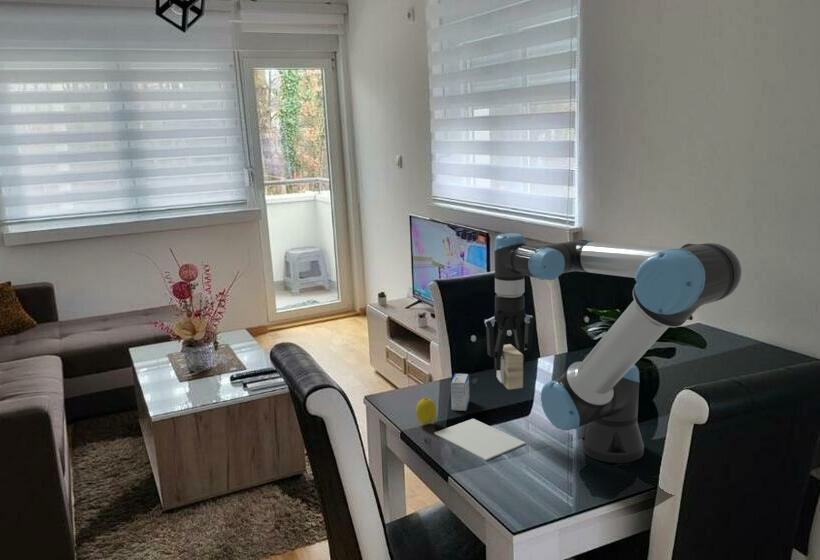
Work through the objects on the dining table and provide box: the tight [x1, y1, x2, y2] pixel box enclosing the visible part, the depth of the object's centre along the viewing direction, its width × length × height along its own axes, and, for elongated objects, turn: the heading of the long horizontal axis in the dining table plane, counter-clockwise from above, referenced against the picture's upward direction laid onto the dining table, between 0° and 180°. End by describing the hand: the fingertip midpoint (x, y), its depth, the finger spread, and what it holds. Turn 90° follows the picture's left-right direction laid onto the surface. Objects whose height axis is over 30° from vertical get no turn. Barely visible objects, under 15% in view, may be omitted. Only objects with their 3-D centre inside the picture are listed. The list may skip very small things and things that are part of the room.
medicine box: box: [450, 373, 470, 412], centre depth 195 cm, size 8×4×9 cm, turn 168°
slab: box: [496, 343, 524, 390], centre depth 174 cm, size 9×4×9 cm, turn 12°
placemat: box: [433, 418, 526, 462], centre depth 174 cm, size 20×14×1 cm
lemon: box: [415, 397, 437, 426], centre depth 183 cm, size 6×6×8 cm
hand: (509, 380), depth 174 cm, fingers closed on slab, 4 cm apart
